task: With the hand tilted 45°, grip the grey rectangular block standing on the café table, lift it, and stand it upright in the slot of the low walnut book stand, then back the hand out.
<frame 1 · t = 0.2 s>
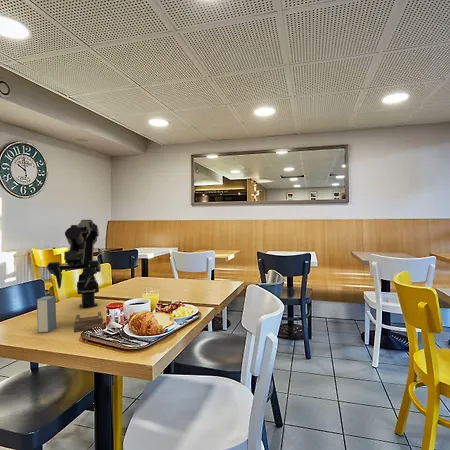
hand: (72, 287, 119), 15 cm above the table, tool tilted 35°, fingers open, 9 cm apart
book stand: (89, 325, 119), on the table
grey rectangular block: (47, 330, 115), on the table
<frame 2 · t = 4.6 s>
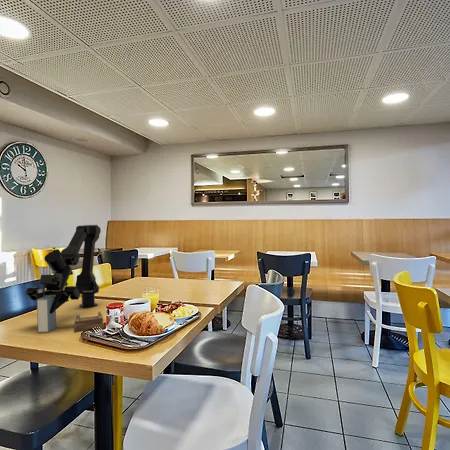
hand: (44, 313, 113), 7 cm above the table, tool tilted 45°, fingers closed on grey rectangular block, 4 cm apart
grey rectangular block: (47, 329, 115), on the table, touching gripper
when the fingers open (9 cm above the table, at t = 9.8 s): grey rectangular block stays where it is, resting on book stand.
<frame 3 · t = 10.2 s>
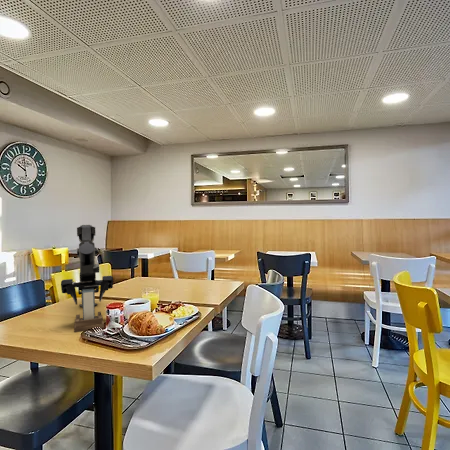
hand: (88, 302, 118), 9 cm above the table, tool tilted 45°, fingers open, 8 cm apart
grey rectangular block: (89, 321, 119), point 1 cm above the table, touching book stand
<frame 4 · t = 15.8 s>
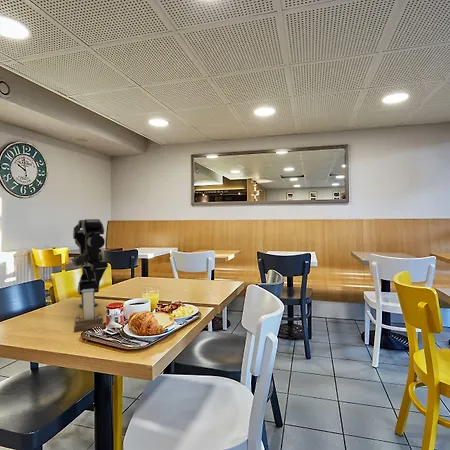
hand: (93, 282, 137), 13 cm above the table, tool pointing down, fingers open, 9 cm apart
nothing on the table moved.
at the end: grey rectangular block 0.0 cm off-centre on the book stand, point 1.5 cm above the book stand's base; grey rectangular block tilted 0°; the gripper is holding nothing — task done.
